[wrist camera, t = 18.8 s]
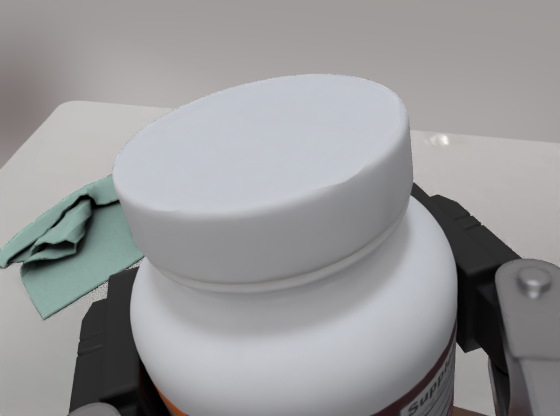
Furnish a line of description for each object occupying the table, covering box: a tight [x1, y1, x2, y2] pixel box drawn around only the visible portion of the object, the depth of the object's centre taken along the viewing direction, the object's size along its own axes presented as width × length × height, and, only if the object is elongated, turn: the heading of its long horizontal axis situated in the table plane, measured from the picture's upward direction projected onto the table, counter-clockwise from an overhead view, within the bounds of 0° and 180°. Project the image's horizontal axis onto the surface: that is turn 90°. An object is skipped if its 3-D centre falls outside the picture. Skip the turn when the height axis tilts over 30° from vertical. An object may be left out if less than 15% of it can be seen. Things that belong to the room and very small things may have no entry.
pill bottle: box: [112, 74, 457, 416], centre depth 10 cm, size 6×6×11 cm
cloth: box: [0, 174, 144, 320], centre depth 43 cm, size 20×22×2 cm
